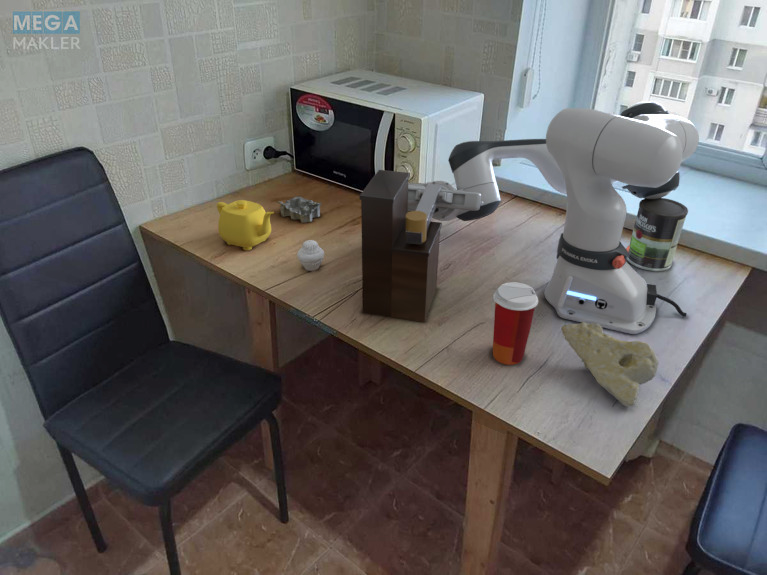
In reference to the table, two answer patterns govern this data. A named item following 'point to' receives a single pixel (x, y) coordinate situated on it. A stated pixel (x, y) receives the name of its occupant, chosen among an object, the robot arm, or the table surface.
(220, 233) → the teapot
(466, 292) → the table surface
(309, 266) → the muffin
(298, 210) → the egg carton
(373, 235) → the step stand
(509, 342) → the paper cup
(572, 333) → the cheese
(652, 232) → the coffee can
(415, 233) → the crank handle
